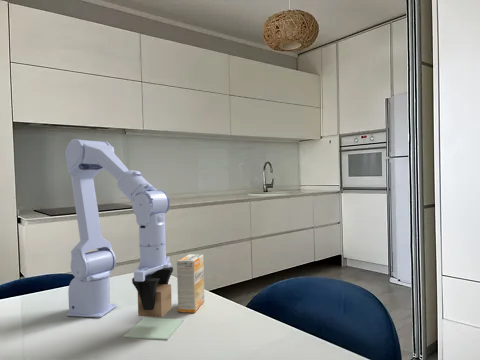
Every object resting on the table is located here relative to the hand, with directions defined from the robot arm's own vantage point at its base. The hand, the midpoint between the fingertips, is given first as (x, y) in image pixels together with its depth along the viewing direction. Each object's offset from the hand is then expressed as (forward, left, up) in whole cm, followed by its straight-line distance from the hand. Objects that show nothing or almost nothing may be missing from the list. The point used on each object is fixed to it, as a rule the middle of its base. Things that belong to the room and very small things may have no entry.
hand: (154, 304), depth 80 cm
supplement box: (+4, +14, -6) cm, 16 cm away
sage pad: (0, 0, -6) cm, 6 cm away
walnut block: (0, 0, -2) cm, 2 cm away
